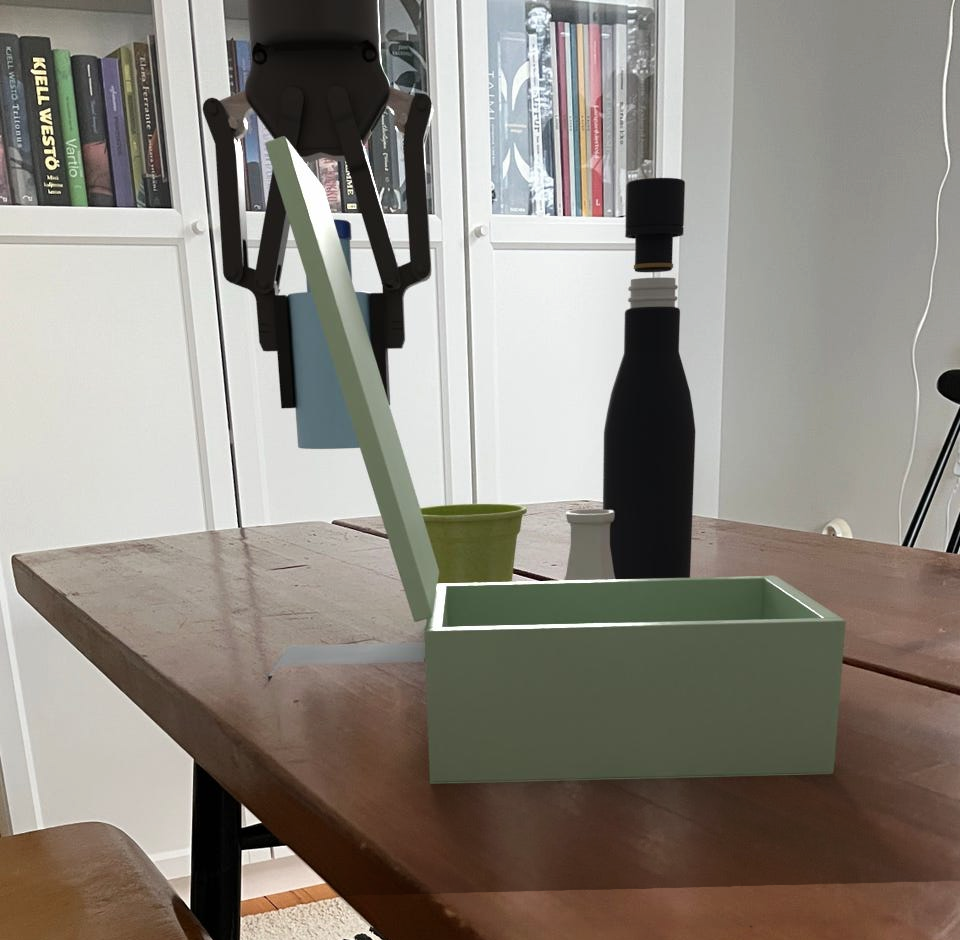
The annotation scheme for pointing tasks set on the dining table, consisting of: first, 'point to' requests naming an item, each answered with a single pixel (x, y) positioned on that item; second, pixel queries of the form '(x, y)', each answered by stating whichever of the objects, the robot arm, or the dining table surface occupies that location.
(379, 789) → the dining table surface
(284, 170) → the lid
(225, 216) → the robot arm
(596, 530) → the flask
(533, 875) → the dining table surface
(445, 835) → the dining table surface
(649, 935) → the dining table surface
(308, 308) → the water bottle
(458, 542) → the plant pot
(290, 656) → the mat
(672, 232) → the black bottle
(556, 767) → the cool chest
